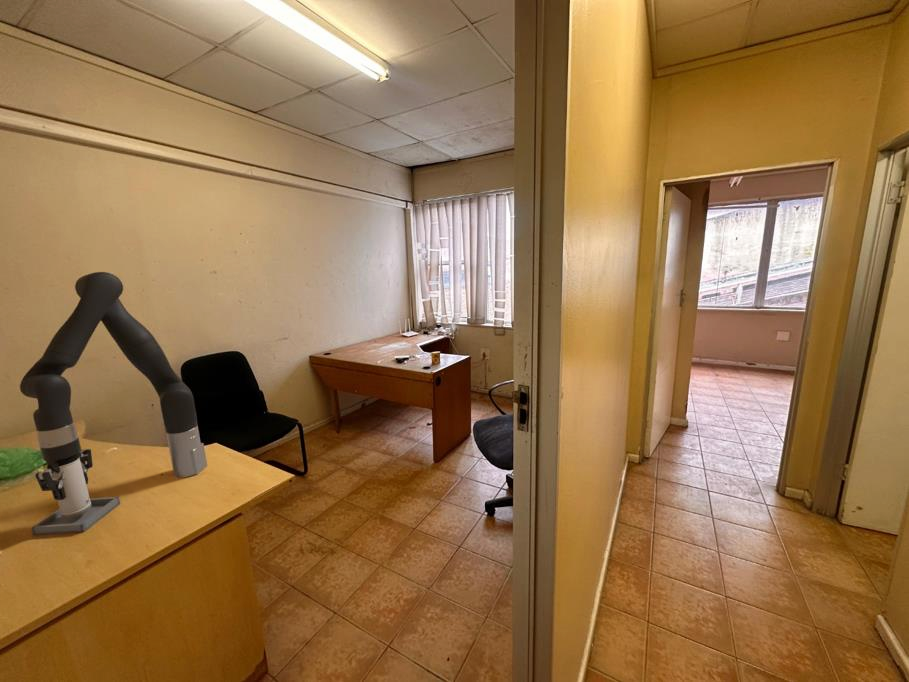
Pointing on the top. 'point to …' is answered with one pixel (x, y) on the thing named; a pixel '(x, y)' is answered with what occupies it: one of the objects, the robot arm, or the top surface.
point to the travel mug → (73, 488)
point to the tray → (76, 518)
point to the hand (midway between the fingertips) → (72, 491)
